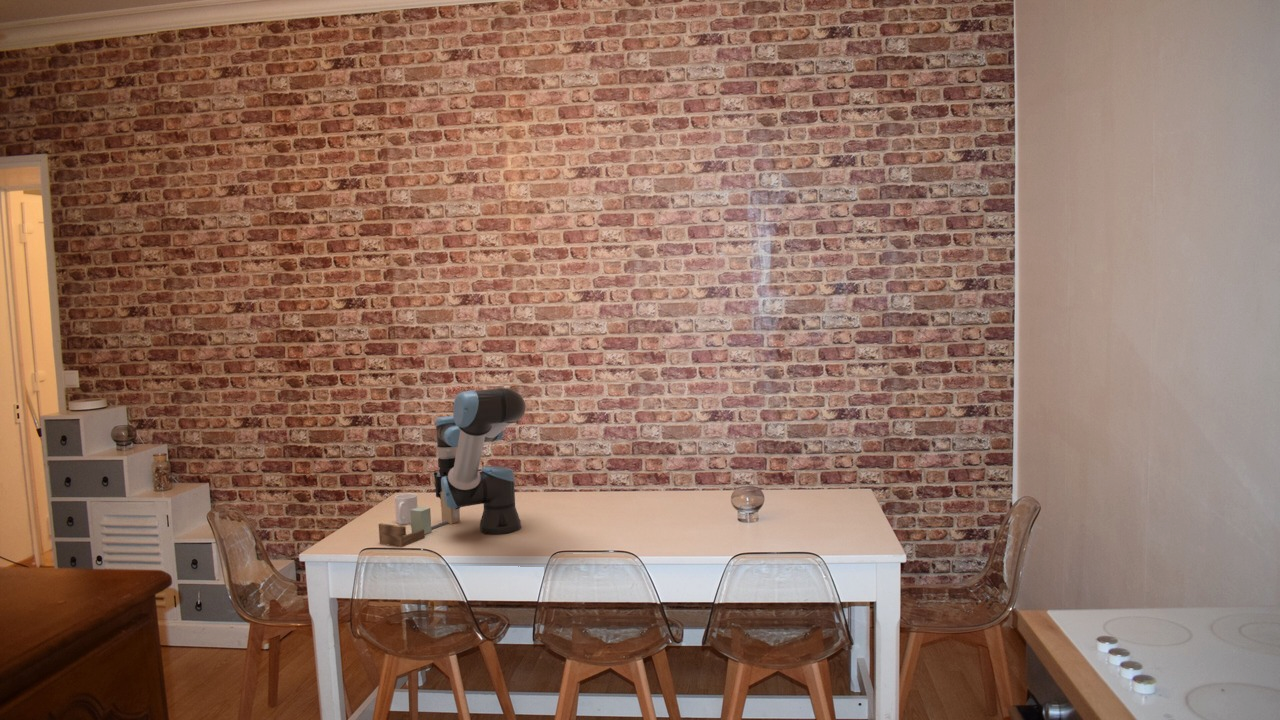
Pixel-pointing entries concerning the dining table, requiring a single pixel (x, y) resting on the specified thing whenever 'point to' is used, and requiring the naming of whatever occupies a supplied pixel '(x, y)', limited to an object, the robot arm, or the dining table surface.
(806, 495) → the dining table surface
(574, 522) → the dining table surface
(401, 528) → the lane
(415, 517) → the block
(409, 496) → the cup
